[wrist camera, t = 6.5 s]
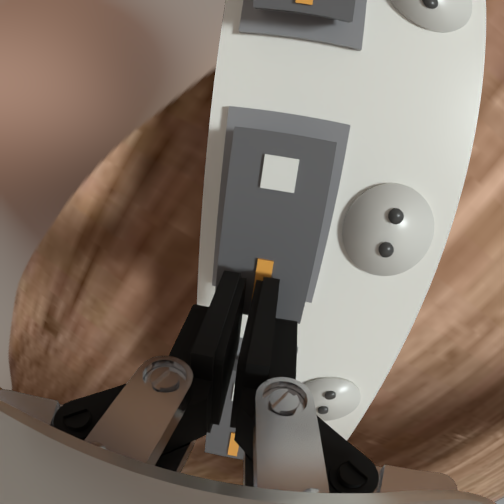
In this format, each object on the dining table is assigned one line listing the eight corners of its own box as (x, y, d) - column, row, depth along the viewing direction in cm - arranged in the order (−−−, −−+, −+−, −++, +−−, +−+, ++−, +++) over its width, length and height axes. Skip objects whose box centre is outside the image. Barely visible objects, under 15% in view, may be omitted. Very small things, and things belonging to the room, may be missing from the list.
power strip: (447, -53, 8) (479, -83, 4) (337, 409, 22) (338, 456, 18) (263, -94, 9) (252, -138, 5) (208, 390, 23) (194, 435, 19)
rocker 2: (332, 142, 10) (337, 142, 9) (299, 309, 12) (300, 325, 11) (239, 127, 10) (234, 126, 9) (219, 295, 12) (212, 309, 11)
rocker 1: (281, 367, 14) (280, 379, 13) (260, 450, 16) (258, 463, 15) (218, 355, 15) (213, 367, 14) (208, 440, 16) (204, 453, 15)
